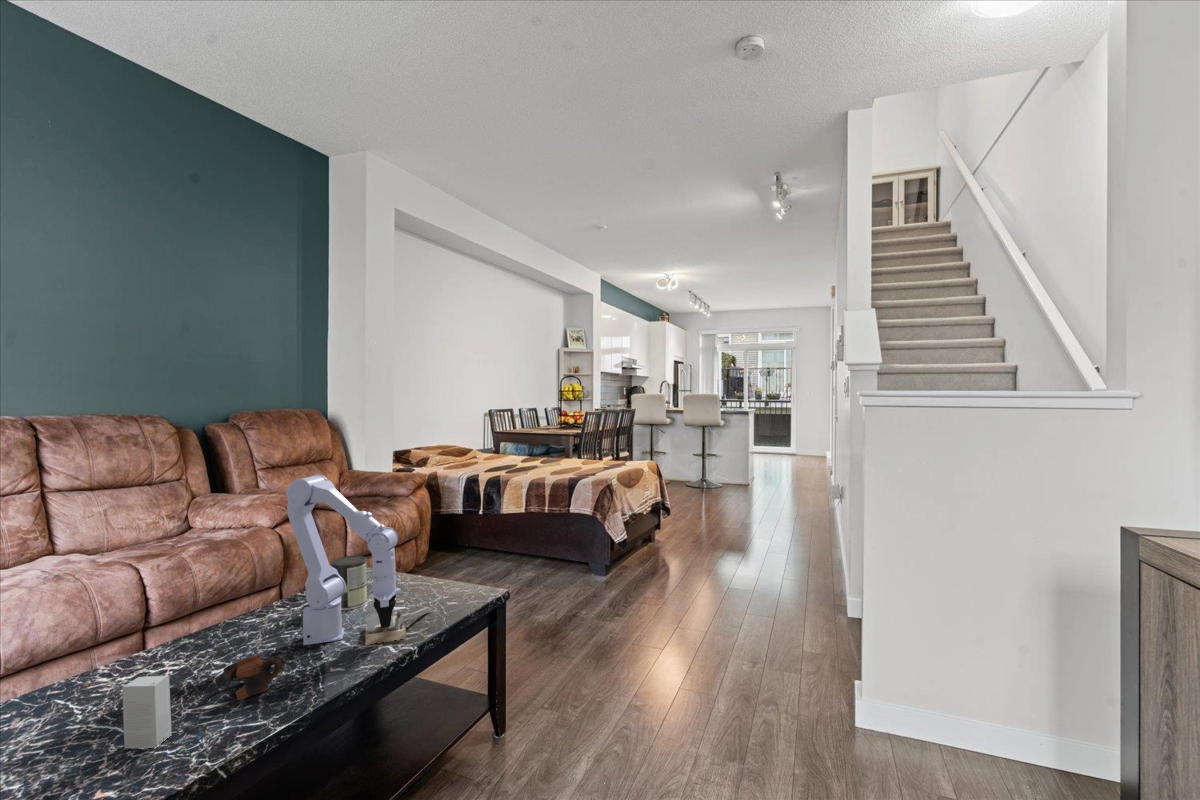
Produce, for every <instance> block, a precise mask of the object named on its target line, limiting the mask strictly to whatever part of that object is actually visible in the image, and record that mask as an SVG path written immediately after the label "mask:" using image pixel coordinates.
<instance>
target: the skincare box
mask: <svg viewBox="0 0 1200 800" xmlns="http://www.w3.org/2000/svg"><path fill="white" fill-rule="evenodd" d="M170 688H171V687H170V676H169V675H154V676H153V675H151V676H150V675H149V676H139V677H137V678H135V679H133V680H132V681H130V682H128V683H126V684H125V685H124V686H122V687H121V690H122V691H121V692H122V694H121V695H122V716H123V717H122V718H123V742H124V743H123V746H124V747H123V748H124V749H125V748H153V747H157V746H158V745H160V744H161V743H162V742H163V741H165V740H166V739H167V738H169V737H170V736H171V737H172V715H171V714H172V713H171V691H170ZM171 737H170V738H171ZM170 738H169V739H170ZM166 741H167V740H166ZM166 741H165V742H166ZM160 746H161V745H160Z"/></svg>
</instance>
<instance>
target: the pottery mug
mask: <svg viewBox="0 0 1200 800" xmlns="http://www.w3.org/2000/svg"><path fill="white" fill-rule="evenodd" d="M273 665H274V666H275V667H274V670H273V671H272V672H271V668H272V666H273ZM283 666H284V665H283V663H282V660H281V659H279V658H278V657H272V658H269V659H266V660H263V659H262V656H261V655H260V654H256V655H252V656H250V657H247V658H243V659H241V660H239V661H236V662H233V663H231V664H230V665H228V666H226V667H225V668H224V669H223V671H224V675H223V677H222V679H221V682H220V684H222V685H223V683H224V682H225V681H228V680H229V681H232V680H235V679H237V678H238V679H241V681H242V682H243V684H244V686H242V687H241V688H239V689H237V690H235V692H234V693H235V696H236V697H237V701H238V700H239V701H241V700H245V699H248V698H249V697H252V696H257V695H258V694H261V693H262V694H263V693H265V692H266V691H267V685H270V684H271V683H272V681H273V679H275V678H277V677H278V676H279V675H280V673H281V671H282V668H283ZM261 668H262V669H261Z"/></svg>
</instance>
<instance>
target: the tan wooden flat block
mask: <svg viewBox="0 0 1200 800" xmlns="http://www.w3.org/2000/svg"><path fill="white" fill-rule="evenodd" d="M404 614H405V613H403V615H404ZM392 617H393V620H394V624H395V618H397V614H396V615H392ZM376 630H377V633H374V634H369V632H368V629H367V625H366V627H365V633H364V634H365V636H364V637H365V646H370V644H372V645H376V644H375V643H378V644H383V643H382V642H384V643H390V641H391V642H395V641H394V640H397V641H401V640H400V639H403V640H405V639H404V638H406V639H407V637H406V635H407V633H406V632H407V631H406V624H405V625H404V626H402V629H400V630H394V631H388V628H387V627H386V628H381V625H380V624H379V625H376Z"/></svg>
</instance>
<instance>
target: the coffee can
mask: <svg viewBox="0 0 1200 800" xmlns="http://www.w3.org/2000/svg"><path fill="white" fill-rule="evenodd" d="M330 566H332V567H333V568H335V569H337V571H338V574H339V575H340V576H341V577H342V578H343V580H344V581H345V584H346V589H345V592H344V593H343V594H342V595H341V610H342V611H350V610H351V609H352V610H355V609H359V608H361V607H364V606H366V604H367V603H368V595H367V594H368V593H367V592H368V591H367V590H368V589H367V557H366V556H362V555H348V556H342V557H338V558H335V559H333V560H332V561H331V562H330ZM352 610H351V611H352Z"/></svg>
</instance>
